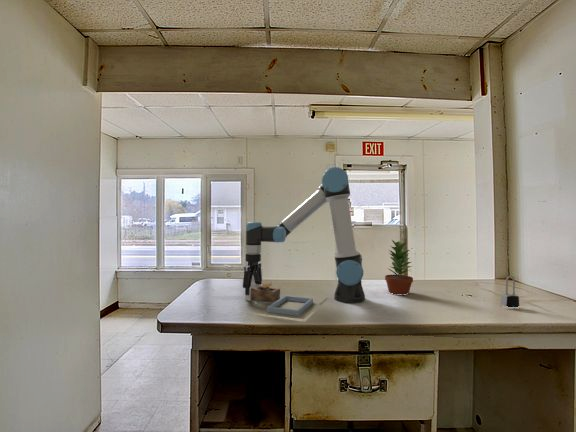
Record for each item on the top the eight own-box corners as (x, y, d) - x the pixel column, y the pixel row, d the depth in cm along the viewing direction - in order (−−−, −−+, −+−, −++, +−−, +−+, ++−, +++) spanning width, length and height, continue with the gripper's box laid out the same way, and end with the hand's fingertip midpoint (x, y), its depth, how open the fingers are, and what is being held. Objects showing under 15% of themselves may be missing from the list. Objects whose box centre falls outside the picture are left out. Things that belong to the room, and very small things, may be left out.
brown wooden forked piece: (280, 298, 153) (280, 288, 153) (274, 302, 146) (274, 291, 146) (251, 295, 158) (251, 285, 158) (244, 299, 151) (244, 288, 151)
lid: (284, 299, 155) (284, 282, 155) (274, 306, 143) (274, 287, 143) (260, 296, 159) (261, 279, 159) (248, 303, 147) (249, 285, 147)
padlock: (513, 306, 148) (513, 275, 148) (520, 309, 144) (520, 276, 144) (499, 306, 148) (500, 274, 148) (506, 309, 143) (506, 276, 143)
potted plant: (418, 296, 164) (419, 239, 164) (389, 296, 164) (390, 239, 164) (408, 290, 179) (408, 237, 179) (381, 289, 179) (382, 237, 179)
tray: (312, 304, 146) (313, 298, 146) (298, 318, 127) (298, 310, 127) (285, 301, 151) (285, 295, 151) (266, 313, 132) (266, 306, 132)
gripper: (256, 250, 165) (255, 293, 165) (235, 255, 145) (234, 303, 145) (269, 251, 162) (268, 295, 162) (249, 256, 143) (248, 305, 143)
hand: (252, 299), depth 154 cm, fingers open, 8 cm apart
